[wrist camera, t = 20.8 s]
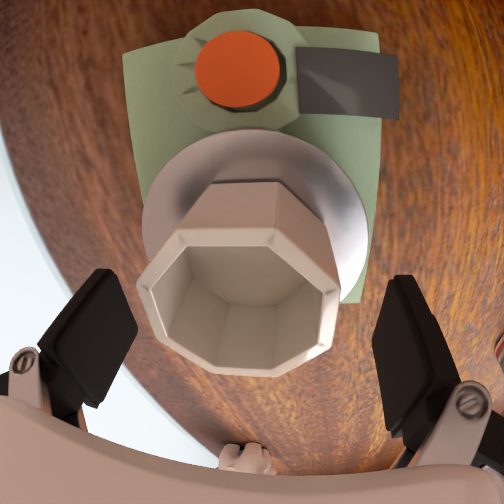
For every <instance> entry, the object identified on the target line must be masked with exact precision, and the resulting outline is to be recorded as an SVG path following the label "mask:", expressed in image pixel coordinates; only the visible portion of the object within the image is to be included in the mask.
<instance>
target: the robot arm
mask: <svg viewBox="0 0 504 504" xmlns="http://www.w3.org/2000/svg"><path fill="white" fill-rule="evenodd" d="M137 332H138V326H137V324H136V321H135V319H134V317H133V314H132V312H131V310H130V307H129V305H128V303H127V300H126V298H125V295H124V293H123V290H122V288H121V285H120V282H119V280H118V277H117V275H116V274H114V272H113V271H112V270H111V269H96V270H95V271H94V272H93V273H92V274H91V276H90V277H89V278H88V279H87V280H86V281H85V283H84V284H83V285H82V286H81V287H80V289H79V290H78V291H77V292H76V293H75V295H74V296H73V297H72V298H71V300H70V301H69V302H68V303H67V305H66V306H65V307H64V309H63V310H62V311H61V312H60V314H59V315H58V316H57V318H56V319H55V320H54V321H53V323H52V324H51V325H50V327H49V328H48V329H47V331H46V332H45V333H44V335H43V336H42V338H41V339H40V340H39V342H38V343H37V345H38V347H39V348H40V349H41V352H40V354H39V353H38V351H37V350H36V349H35V348H33V347H25V348H23V349H21V350H20V351H18V352H17V353H16V354H15V355H14V357H13V358H12V360H11V362H10V367H9V371H8V372H5V373H3V374H1V375H0V504H504V417H503V416H501V415H500V414H498V413H496V412H495V411H493V410H491V409H492V399H491V396H490V394H489V391H488V390H487V389H486V388H485V386H483V385H482V384H480V383H479V382H476V381H473V380H467V381H464V382H461V380H460V377H459V374H458V372H457V369H456V366H455V363H454V361H453V358H452V355H451V353H450V350H449V348H448V345H447V343H446V340H445V338H444V336H443V333H442V331H441V329H440V326H439V324H438V322H437V320H436V318H435V316H434V315H433V314H431V311H430V309H429V307H428V305H427V303H426V301H425V299H424V296H423V294H422V292H421V290H420V288H419V286H418V284H417V282H416V280H415V278H414V277H413V275H395V276H394V278H393V279H391V280H389V282H388V285H387V289H386V293H385V296H384V300H383V304H382V307H381V311H380V314H379V317H378V321H377V324H376V327H375V330H374V333H373V337H372V349H373V353H374V358H375V364H376V369H377V374H378V380H379V386H380V392H381V398H382V404H383V411H384V418H385V426H386V429H387V431H391V436H392V438H398V437H403V443H404V448H403V450H402V451H401V452H400V454H399V455H398V457H397V458H396V460H395V461H394V463H393V464H392V465H391V467H390V468H389V470H383V471H376V472H367V473H357V474H343V475H321V476H285V475H266V474H253V473H243V472H235V471H227V470H220V469H214V468H208V467H202V466H197V465H192V464H187V463H182V462H178V461H174V460H170V459H166V458H161V457H158V456H155V455H151V454H147V453H144V452H141V451H137V450H134V449H131V448H128V447H125V446H122V445H119V444H116V443H114V442H111V441H108V440H106V439H103V438H100V437H98V436H95V435H93V434H91V433H88V430H87V426H86V422H85V418H84V414H83V410H82V404H83V402H84V403H85V404H86V405H88V406H90V407H93V408H96V409H97V408H98V406H99V404H100V403H101V402H103V400H104V399H105V397H106V395H107V392H108V390H109V388H110V386H111V384H112V382H113V380H114V378H115V376H116V374H117V372H118V370H119V368H120V366H121V364H122V362H123V360H124V358H125V356H126V354H127V352H128V350H129V349H130V347H131V345H132V343H133V341H134V339H135V337H136V335H137Z"/></svg>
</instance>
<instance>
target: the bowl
mask: <svg viewBox="0 0 504 504" xmlns="http://www.w3.org/2000/svg"><path fill="white" fill-rule="evenodd" d="M136 287H137V290H138V293H139V295H140V298H141V301H142V304H143V306H144V309H145V312H146V314H147V317H148V320H149V322H150V325H151V327H152V330H153V332H154V335H155V337H156V338H157V339H158V340H159V341H160V342H162V343H163V344H165V345H166V346H168V347H169V348H171V349H173V350H174V351H176V352H177V353H179V354H180V355H182V356H184V357H185V358H187V359H188V360H190V361H192V362H193V363H195V364H197V365H198V366H200V367H202V368H203V369H205V370H207V371H209V372H210V373H214V374H225V375H239V376H256V377H279V376H281V375H283V374H285V373H287V372H289V371H290V370H292V369H294V368H296V367H298V366H300V365H302V364H303V363H305V362H307V361H309V360H311V359H312V358H314V357H316V356H318V355H319V354H321V353H323V352H324V351H326V350H328V349H330V348H331V346H332V342H333V337H334V332H335V327H336V321H337V316H338V310H339V304H340V298H341V291H342V286H341V282H340V278H339V273H338V269H337V265H336V261H335V257H334V253H333V249H332V246H331V242H330V238H329V234H328V231H327V228H326V226H325V225H324V224H323V223H322V222H321V221H320V220H319V219H318V218H317V217H316V216H315V215H314V214H313V213H312V212H311V211H310V210H309V209H308V208H307V207H305V206H304V205H303V204H302V203H301V202H300V201H299V200H298V199H297V198H296V197H295V196H294V195H293V194H292V193H290V192H289V191H288V190H287V189H286V188H285V187H284V186H283V185H282V184H280V183H279V182H256V183H228V184H211V185H209V186H208V187H207V189H206V190H205V191H204V192H203V193H202V195H201V196H200V197H199V198H198V199H197V201H196V202H195V203H194V204H193V205H192V207H191V208H190V209H189V210H188V212H187V213H186V214H185V215H184V217H183V218H182V219H181V220H180V222H179V223H178V224H177V225H176V227H175V228H174V229H173V230H172V232H171V233H170V234H169V236H168V237H167V238H166V240H165V241H164V242H163V244H162V245H161V246H160V248H159V249H158V250H157V252H156V253H155V255H154V256H153V257H152V259H151V260H150V261H149V263H148V264H147V266H146V267H145V268H144V270H143V271H142V273H141V274H140V276H139V277H138V278H137V280H136Z"/></svg>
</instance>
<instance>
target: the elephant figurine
mask: <svg viewBox="0 0 504 504" xmlns="http://www.w3.org/2000/svg"><path fill="white" fill-rule="evenodd" d="M239 449H240V446H239V445H236V444H226V445H225V447H224V448H223V450H222V451H221V453H220V456H219V467H217V468H215V469H220V470H227V471H235V472H243V473H253V474H266V475H277V472H276V473H275V468H273V467H271V459H270V454H269V451H268V450H267V449H261V444H258V443H247V444H246V445H245V449H244V451H243V450H239Z"/></svg>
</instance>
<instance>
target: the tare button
mask: <svg viewBox="0 0 504 504" xmlns="http://www.w3.org/2000/svg"><path fill="white" fill-rule="evenodd" d="M195 77H196V81H197V84H198V86H199V88H200V89H201V91H202V92H203V93H204V95H205V96H206V97H208V98H209V99H210V100H212V101H213V102H215V103H217V104H220V105H222V106H227V107H245V106H250V105H254V104H257V103H259V102H261V101H263V100H265V99H266V98H267V97H268V96H270V95H271V93H272V92H273V91H274V90H275V88H276V86H277V84H278V81H279V78H280V66H279V60H278V57H277V54H276V52H275V50H274V49H273V47H272V46H271V45H270V44H269V43H268V42H267V41H266V40H265V39H264V38H262V37H260V36H258V35H256V34H254V33H251V32H246V31H231V32H226V33H223V34H220V35H218V36H216V37H215V38H213V39H211V40H210V41H209V42H208V43H207V44H206V45H205V46H204V47H203V48H202V50H201V51H200V53H199V55H198V57H197V60H196V63H195Z"/></svg>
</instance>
